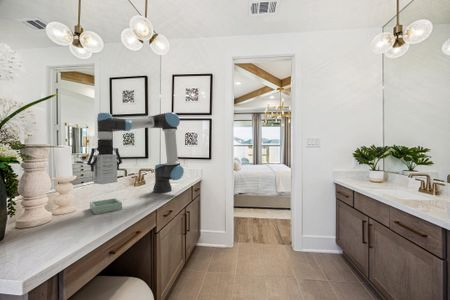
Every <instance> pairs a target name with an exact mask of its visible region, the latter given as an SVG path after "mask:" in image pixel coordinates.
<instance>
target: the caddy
mask: <svg viewBox="0 0 450 300" xmlns="http://www.w3.org/2000/svg"><path fill="white" fill-rule="evenodd" d="M89 208H90V209H89V210H90V211H91V212H92V214H93V215H98V214H99V215H100V214H104V213H109V212H114V211H120V210H123V202H122V201H120V200H119V199H117V198H116V197H115V198H109V199H108V198H107V199H100V200H95V201H93V200H92V201H90V202H89Z"/></svg>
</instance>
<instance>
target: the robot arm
mask: <svg viewBox="0 0 450 300" xmlns="http://www.w3.org/2000/svg"><path fill="white" fill-rule="evenodd" d="M96 119H97V120H96V122H97V146H96V148H93V147H92V148H91V150H90V151H91V153H90V155H89V158H88V160H87V162H86V164H87V166H90V172H92V177H93V178H94V177H95V166H94V164H95V163H96V161H97V157H96V158H95V159H94V161H92V159H93V155H95V152H96V151H97V152H98V153H97V155H114V153H113V151H114V152H115V155H117V171H119V170H120V165H121V164H123V161H122V157H121V156H120V152H119V148H118V147H115V148H114V147H113V132H121V131H123V132H130V131H131V130H137V129H145V128H146V129H147V128H149V129H161V130H162V132H163V133H164V141H165V142H164V144H165V153H166V155H165V156H166V162H165V163H160V164H159V163H158V164H156V165H155V166H154V184H153V188H152V193H158V194H160V193H161V192H163V193H168V192H167V191H169V192H171V191H170V190H173V189H172V185H171V183H170V182H171V180H172V181H178V180H179V181H180V179H182V177H183V175H184V168H183V166H182V165H181V162H180V161H179V157H178V146H177V133H176V131H178V127H179V126H180V122H181V121H180V116H179V115H178V114H176V113H175V112H172V111H171V112H164V113H159V114H155V115H150V116H147V117H139V118H127V119H126V118H116V117H113V114H111V113H109V112H108V113H107V112H99V113H97V117H96Z"/></svg>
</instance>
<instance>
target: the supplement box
mask: <svg viewBox="0 0 450 300" xmlns="http://www.w3.org/2000/svg"><path fill="white" fill-rule="evenodd" d="M96 157H97V161H96V163H95V164H94V166H95V177H93V184H97V185H106V184H113V183H114V184H115V183H118V170H117V161H118V158H117V155H116V154H113V155H98V154H94V155H93V158H92V159H93V161H94V159H95V158H96ZM93 161H92V162H93Z"/></svg>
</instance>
